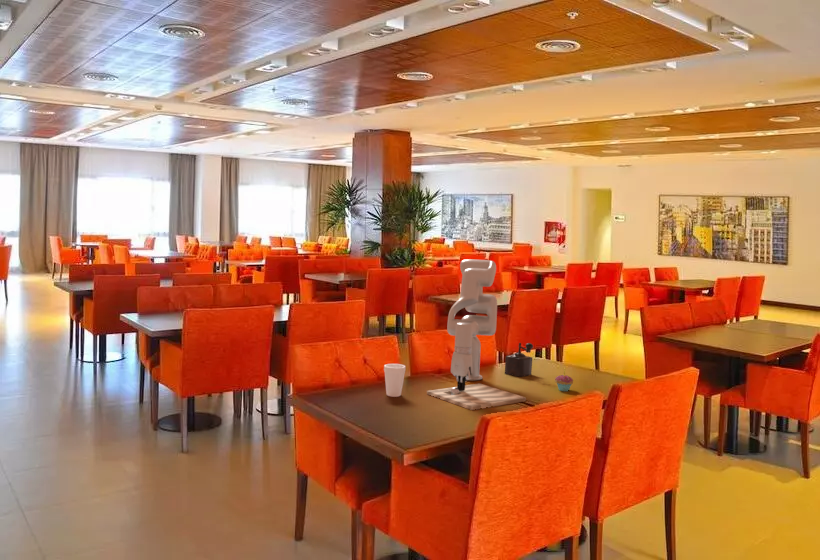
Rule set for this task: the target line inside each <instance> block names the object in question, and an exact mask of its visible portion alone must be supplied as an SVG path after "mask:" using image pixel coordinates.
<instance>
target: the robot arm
mask: <svg viewBox="0 0 820 560" xmlns="http://www.w3.org/2000/svg"><path fill="white" fill-rule="evenodd" d="M459 269H460V271H461V272H460V273H461V275H462V278H461V285H460V286H461V287H460V294H459V299H457V300H456V302H454V303H453V305H452V306H451V308H450V309H449V312H448V316H447V324H446V325H447V326H446V327H447V328H446V330H447V333H448V334H449V335H450V336H453V337H454V351H453V353H452V356H451V361H450V362H451V363H450V373H451V374H452V375H453V376H454V377H455V378H456V382H457V386H456V387H457V388H458V389H459V391H464V390H465V385H466V383H467V381H473V382H474V381H480V380H482V379H483V375H481V374H480V366H481V365H480V364H481V351H482V350H481V347H482V344H481V341H480V339H479V337H478V336H494V335H495V334H496V332H497V323H498V322H497V317H498V316H497V315H498V300H497V297H496V296H495V295H494V294H490V293H489V294H488V293H484V291H483V288H484V287H486V288H488V287H489V288H490V287H491V286H492V285H493V283H494V281H495V276H496V273H497V265H496V262H495V261H494V260H489V259H473V258H472V259H471V258H469V259H468V258H467V259H463V260H461V261H460V264H459ZM464 308H465V310H466V311H467V312H469V313H473V314H467V315H464V316H463V317H462V318H461V319H457V318H456V317H455V316H456V314H457V313H458V312H459V311H460V310H462V309H464ZM475 313H476V314H475ZM477 314H486V315H477ZM455 318H456V319H455Z"/></svg>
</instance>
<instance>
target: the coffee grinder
mask: <svg viewBox="0 0 820 560" xmlns="http://www.w3.org/2000/svg"><path fill="white" fill-rule="evenodd" d="M533 348H534V345H533V344H532V343H531V342H527V343H525V347H523V346H522V343H521V342H519V343H518V352H515V353H512V354H510V355H506V356H505V361H504V362H505V363H504V374H505V375H508V374H509V376H515V377H520V378H523V377H528V376H531V375H532V372H533V371H532V370H533V357H532V356H529V355H525V354H524V353H522V352H521V349H522V350H524V351H525V352H526V353H527V354H528V353H531V351H532V349H533Z"/></svg>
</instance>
